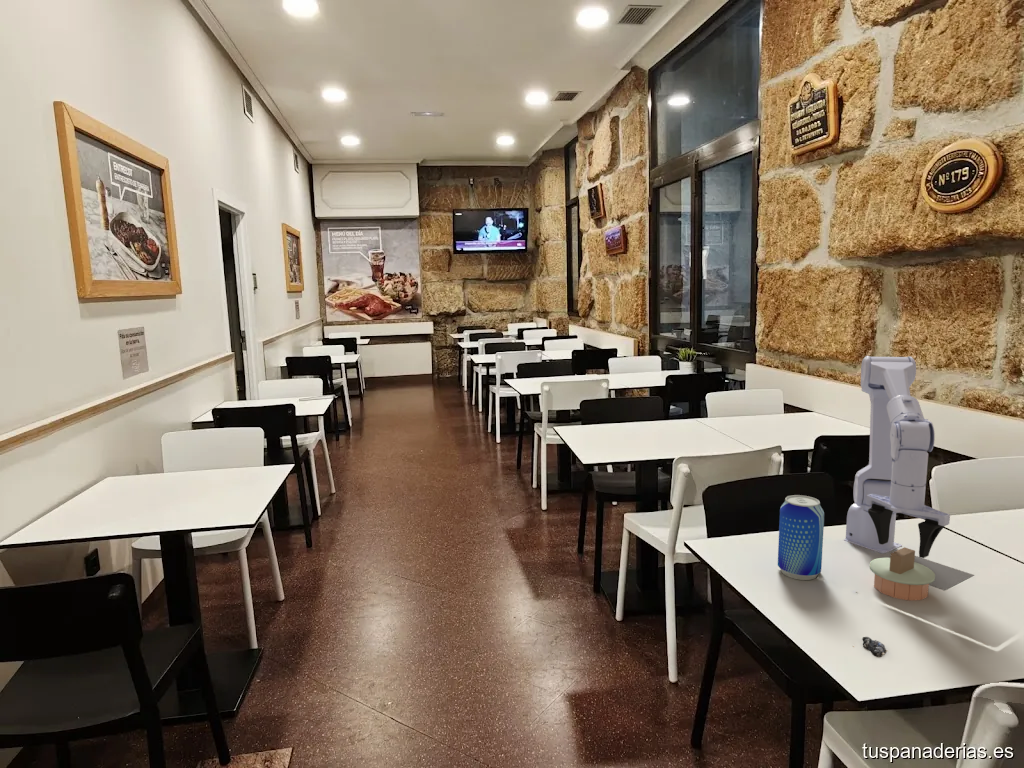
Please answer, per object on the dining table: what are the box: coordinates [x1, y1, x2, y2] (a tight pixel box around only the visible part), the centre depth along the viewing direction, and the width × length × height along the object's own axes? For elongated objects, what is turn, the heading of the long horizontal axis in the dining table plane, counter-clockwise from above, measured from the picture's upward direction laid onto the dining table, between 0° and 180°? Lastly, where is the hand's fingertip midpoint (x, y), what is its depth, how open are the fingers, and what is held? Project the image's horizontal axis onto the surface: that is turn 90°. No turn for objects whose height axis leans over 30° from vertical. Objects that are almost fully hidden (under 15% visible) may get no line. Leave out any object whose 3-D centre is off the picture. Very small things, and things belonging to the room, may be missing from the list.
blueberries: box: [852, 636, 888, 658], centre depth 108 cm, size 7×8×2 cm
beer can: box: [777, 494, 825, 581], centre depth 135 cm, size 8×8×16 cm
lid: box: [869, 546, 935, 585], centre depth 126 cm, size 11×11×4 cm
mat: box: [914, 555, 975, 591], centre depth 134 cm, size 12×12×1 cm
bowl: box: [873, 574, 930, 601], centre depth 127 cm, size 9×9×4 cm
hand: (903, 549), depth 126 cm, fingers open, 7 cm apart
